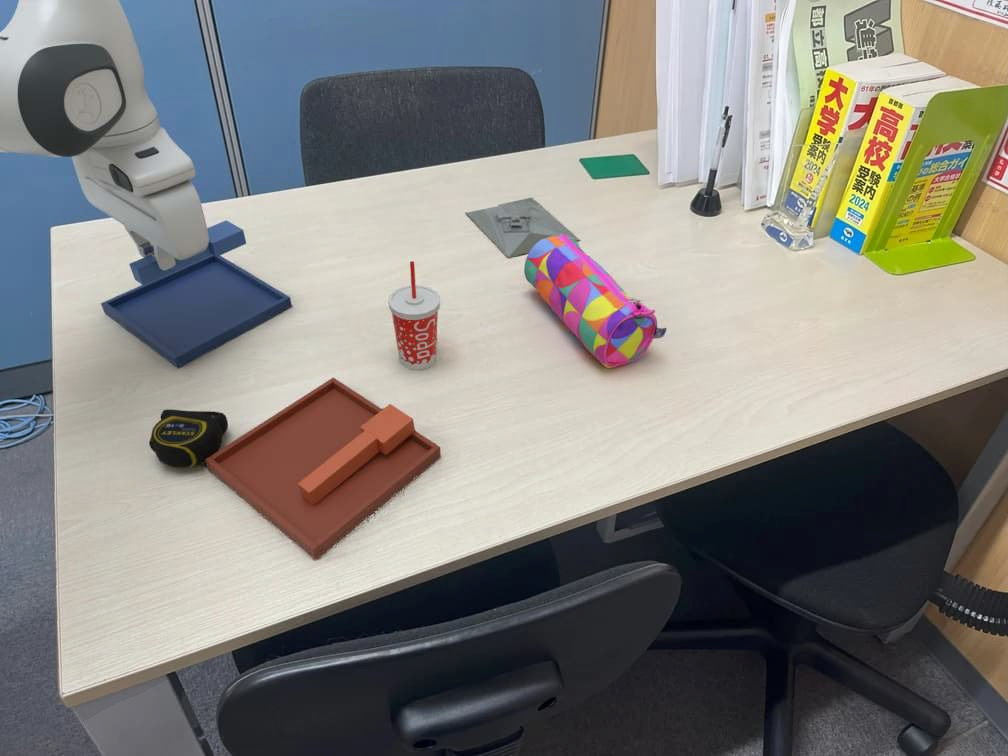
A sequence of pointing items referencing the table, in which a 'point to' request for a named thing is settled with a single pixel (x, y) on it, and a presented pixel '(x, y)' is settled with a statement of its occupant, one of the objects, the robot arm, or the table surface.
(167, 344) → the blue tray
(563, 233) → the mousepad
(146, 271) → the blue stepped bar
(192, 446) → the tape measure
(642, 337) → the pencil case
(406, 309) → the beverage cup
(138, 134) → the robot arm
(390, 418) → the rust stepped bar
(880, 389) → the table surface
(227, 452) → the rust tray
